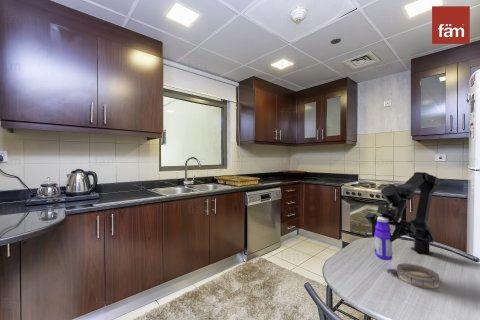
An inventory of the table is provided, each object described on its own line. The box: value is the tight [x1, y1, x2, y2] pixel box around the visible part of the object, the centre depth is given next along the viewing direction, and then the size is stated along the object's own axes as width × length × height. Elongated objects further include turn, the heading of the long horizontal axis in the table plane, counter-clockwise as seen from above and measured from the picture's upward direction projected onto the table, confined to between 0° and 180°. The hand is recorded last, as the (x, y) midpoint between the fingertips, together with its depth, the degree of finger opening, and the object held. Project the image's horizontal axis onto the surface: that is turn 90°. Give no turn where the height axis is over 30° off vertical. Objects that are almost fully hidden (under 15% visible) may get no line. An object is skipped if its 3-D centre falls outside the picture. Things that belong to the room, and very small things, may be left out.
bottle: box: [374, 216, 393, 261], centre depth 95 cm, size 7×6×17 cm
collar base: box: [396, 262, 440, 290], centre depth 87 cm, size 13×13×3 cm
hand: (381, 238), depth 95 cm, fingers closed on bottle, 7 cm apart
